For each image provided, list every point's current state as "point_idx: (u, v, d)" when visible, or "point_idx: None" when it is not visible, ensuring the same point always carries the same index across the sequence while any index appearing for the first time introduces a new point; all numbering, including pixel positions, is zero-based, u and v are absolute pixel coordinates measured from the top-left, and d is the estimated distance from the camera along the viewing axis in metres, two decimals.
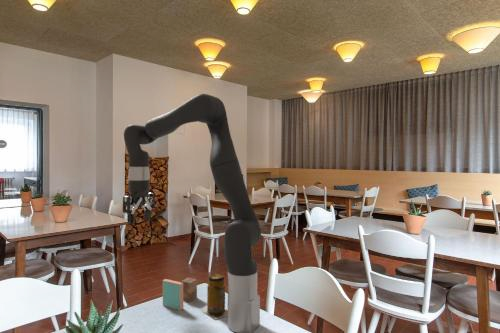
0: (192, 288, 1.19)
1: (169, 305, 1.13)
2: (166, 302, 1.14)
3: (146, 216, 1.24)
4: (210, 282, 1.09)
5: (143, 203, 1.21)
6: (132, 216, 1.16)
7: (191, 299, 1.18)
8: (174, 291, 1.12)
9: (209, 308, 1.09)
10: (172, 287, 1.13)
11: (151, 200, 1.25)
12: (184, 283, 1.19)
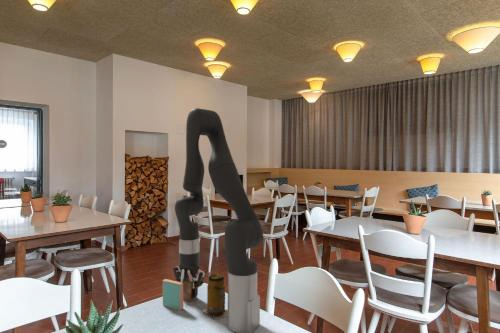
0: None
1: (169, 305, 1.13)
2: (166, 303, 1.14)
3: None
4: (210, 282, 1.09)
5: None
6: None
7: (191, 299, 1.18)
8: (174, 291, 1.12)
9: (209, 308, 1.09)
10: (172, 287, 1.13)
11: (180, 273, 1.23)
12: (184, 283, 1.19)
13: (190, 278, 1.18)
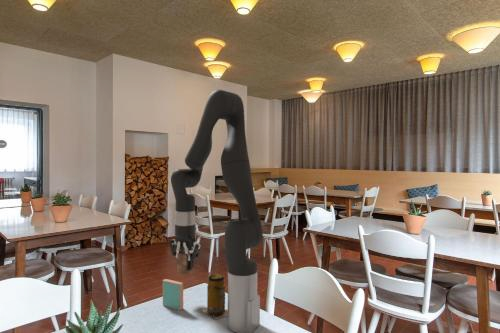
0: None
1: (169, 305, 1.13)
2: (166, 302, 1.14)
3: None
4: (210, 282, 1.09)
5: None
6: None
7: (187, 271, 1.18)
8: (174, 291, 1.12)
9: (209, 308, 1.09)
10: (172, 287, 1.13)
11: (176, 246, 1.22)
12: (180, 255, 1.18)
13: (186, 250, 1.17)
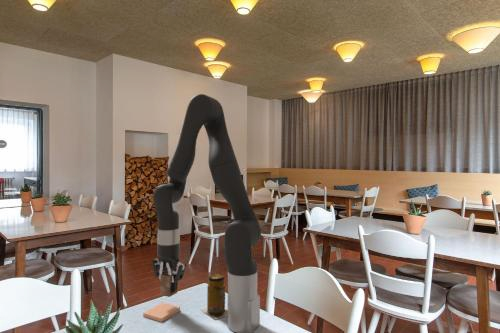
0: None
1: None
2: None
3: None
4: (210, 282, 1.09)
5: None
6: None
7: (170, 294, 1.10)
8: None
9: (209, 308, 1.09)
10: None
11: (159, 266, 1.15)
12: (163, 277, 1.10)
13: (169, 271, 1.09)
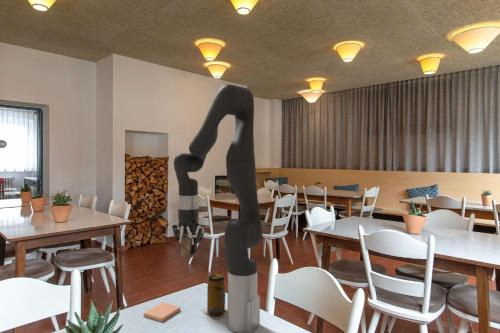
0: None
1: None
2: None
3: None
4: (210, 282, 1.09)
5: None
6: None
7: (190, 256, 1.18)
8: None
9: (209, 308, 1.09)
10: None
11: (179, 231, 1.22)
12: (183, 240, 1.18)
13: (189, 234, 1.17)
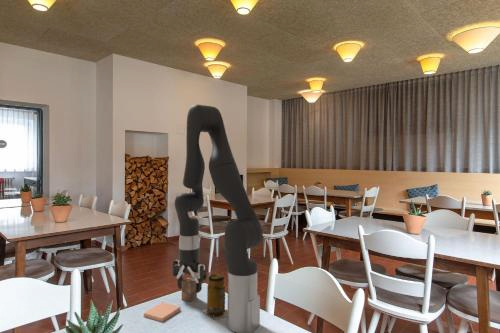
0: (192, 288, 1.19)
1: None
2: None
3: (181, 284, 1.22)
4: (210, 282, 1.09)
5: None
6: None
7: (191, 299, 1.18)
8: None
9: (209, 308, 1.09)
10: None
11: (178, 266, 1.23)
12: (184, 283, 1.19)
13: (192, 273, 1.17)
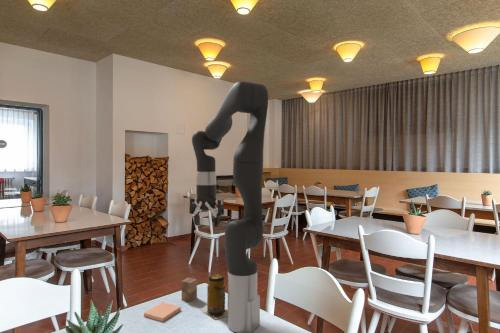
0: (192, 288, 1.19)
1: None
2: None
3: (198, 221, 1.25)
4: (210, 282, 1.09)
5: None
6: None
7: (191, 299, 1.18)
8: None
9: (209, 308, 1.09)
10: None
11: (195, 205, 1.26)
12: (184, 283, 1.19)
13: (210, 208, 1.20)
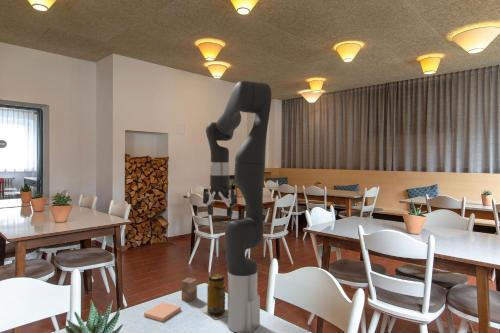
0: (192, 288, 1.19)
1: None
2: None
3: (211, 211, 1.27)
4: (210, 282, 1.09)
5: None
6: None
7: (191, 299, 1.18)
8: None
9: (209, 308, 1.09)
10: None
11: (208, 195, 1.29)
12: (184, 283, 1.19)
13: (223, 198, 1.23)
